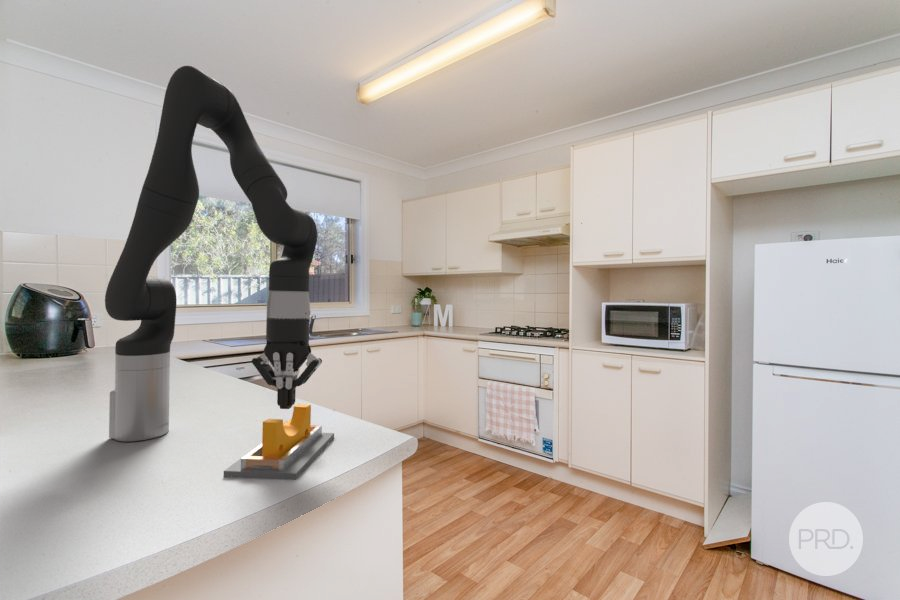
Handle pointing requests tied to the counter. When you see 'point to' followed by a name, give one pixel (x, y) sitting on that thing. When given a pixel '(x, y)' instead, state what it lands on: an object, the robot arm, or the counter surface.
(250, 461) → the long hollow rectangular frame
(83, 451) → the counter surface
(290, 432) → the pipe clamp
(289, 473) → the mounting board
